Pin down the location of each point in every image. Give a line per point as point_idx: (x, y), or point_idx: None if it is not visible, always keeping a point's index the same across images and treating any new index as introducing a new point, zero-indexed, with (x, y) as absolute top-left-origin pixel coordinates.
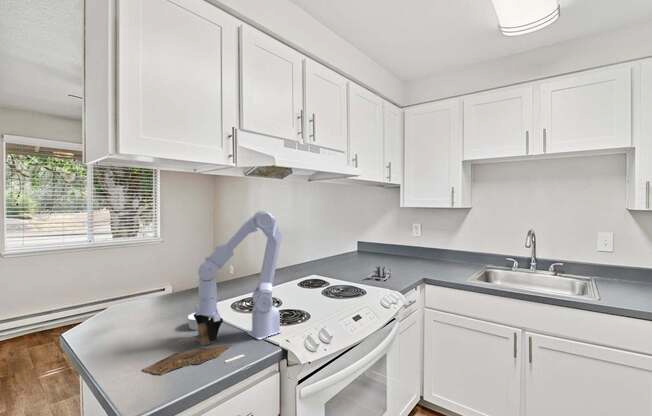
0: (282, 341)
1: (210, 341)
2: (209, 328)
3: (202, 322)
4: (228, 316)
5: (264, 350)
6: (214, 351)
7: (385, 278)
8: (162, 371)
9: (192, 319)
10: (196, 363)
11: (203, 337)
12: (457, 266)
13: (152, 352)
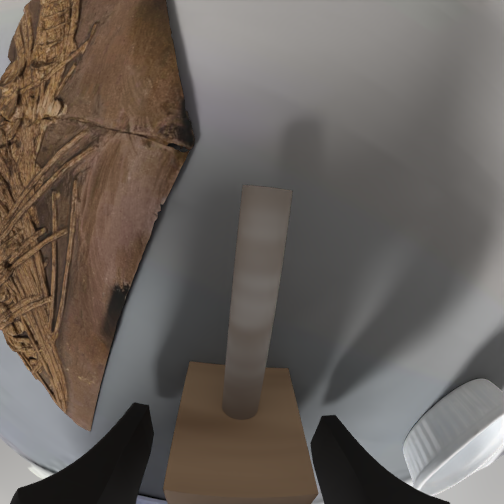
0: None
1: (133, 403)
2: (55, 475)
3: (344, 500)
4: None
5: (2, 426)
6: (37, 341)
7: None
8: (35, 10)
9: (487, 426)
10: None
11: (181, 408)
12: None
13: (385, 40)
